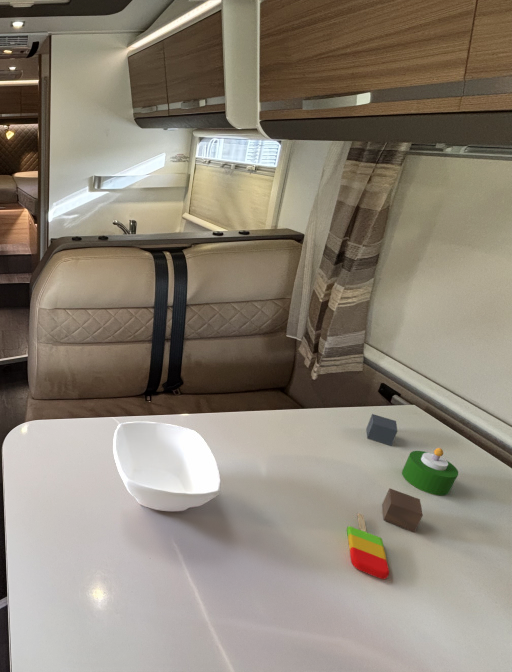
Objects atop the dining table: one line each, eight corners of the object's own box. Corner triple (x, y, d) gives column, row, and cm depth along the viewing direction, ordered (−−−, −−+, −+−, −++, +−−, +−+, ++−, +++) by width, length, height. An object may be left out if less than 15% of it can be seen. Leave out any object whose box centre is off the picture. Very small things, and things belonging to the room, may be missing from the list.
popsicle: (351, 567, 82) (354, 561, 82) (343, 511, 94) (345, 505, 93) (388, 583, 80) (391, 576, 79) (375, 522, 91) (377, 516, 91)
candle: (407, 463, 107) (421, 431, 103) (452, 484, 100) (469, 450, 97) (397, 478, 102) (411, 445, 98) (444, 501, 96) (462, 467, 92)
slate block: (389, 435, 116) (396, 420, 114) (391, 446, 112) (397, 431, 110) (366, 428, 119) (372, 413, 117) (367, 438, 115) (372, 423, 113)
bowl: (112, 526, 91) (117, 486, 87) (106, 452, 111) (110, 416, 107) (222, 542, 87) (233, 501, 83) (196, 463, 108) (203, 426, 103)
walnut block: (411, 516, 93) (419, 499, 91) (414, 532, 89) (423, 515, 87) (382, 504, 95) (389, 488, 94) (383, 520, 92) (390, 503, 90)
